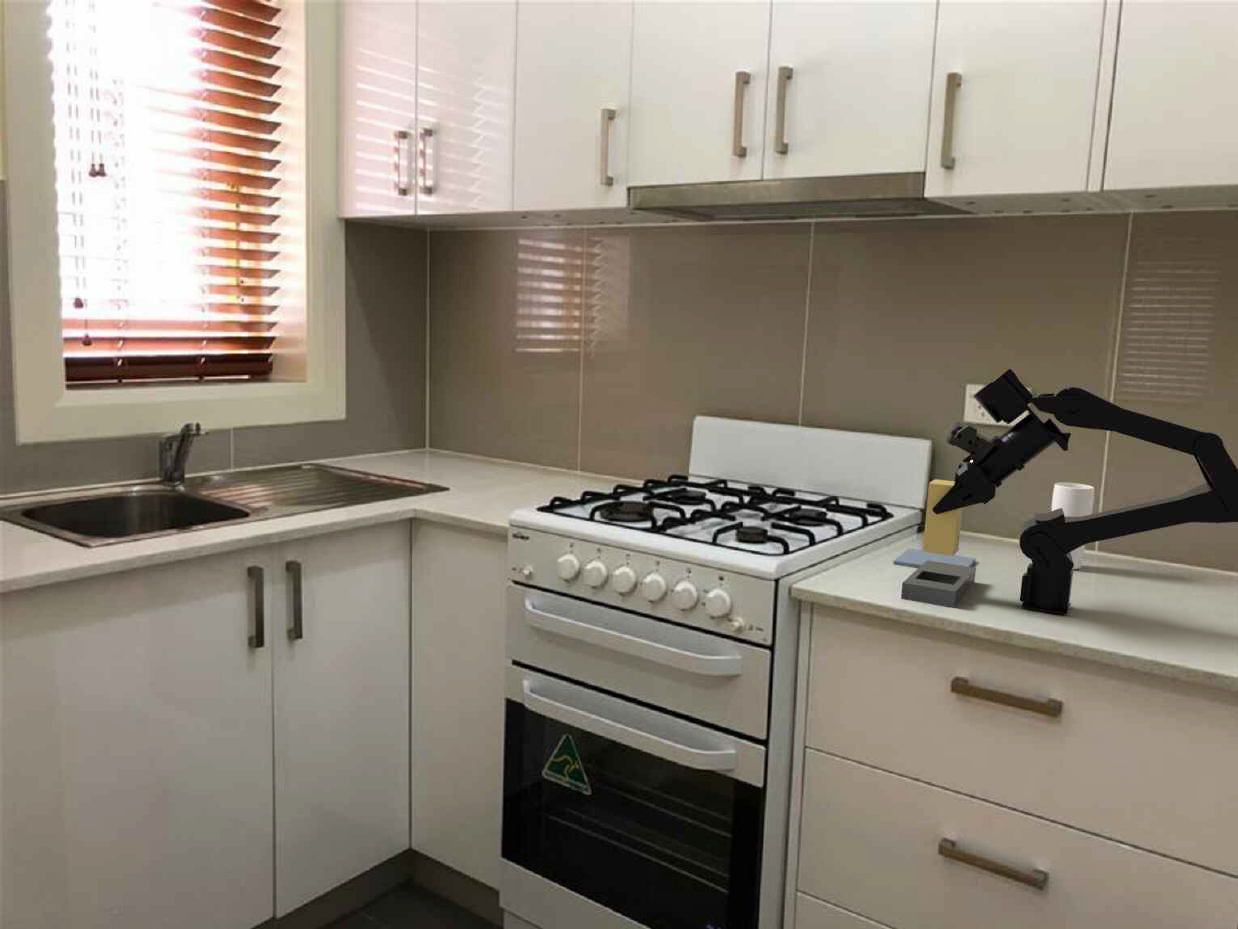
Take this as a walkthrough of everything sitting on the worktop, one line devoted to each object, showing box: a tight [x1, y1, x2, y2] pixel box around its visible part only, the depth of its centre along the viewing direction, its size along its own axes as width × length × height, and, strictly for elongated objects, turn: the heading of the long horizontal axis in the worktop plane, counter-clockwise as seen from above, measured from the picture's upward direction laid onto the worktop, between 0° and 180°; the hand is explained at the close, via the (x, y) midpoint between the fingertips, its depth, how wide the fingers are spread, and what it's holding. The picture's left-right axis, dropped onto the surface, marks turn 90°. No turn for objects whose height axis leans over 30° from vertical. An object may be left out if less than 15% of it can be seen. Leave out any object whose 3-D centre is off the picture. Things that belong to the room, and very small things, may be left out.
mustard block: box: [922, 478, 964, 556], centre depth 156 cm, size 5×5×11 cm
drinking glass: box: [1050, 482, 1096, 571], centre depth 179 cm, size 7×7×15 cm
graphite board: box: [900, 560, 977, 608], centre depth 160 cm, size 8×18×2 cm, turn 151°
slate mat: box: [892, 548, 976, 569], centre depth 179 cm, size 12×12×1 cm
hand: (935, 509), depth 157 cm, fingers closed on mustard block, 5 cm apart
